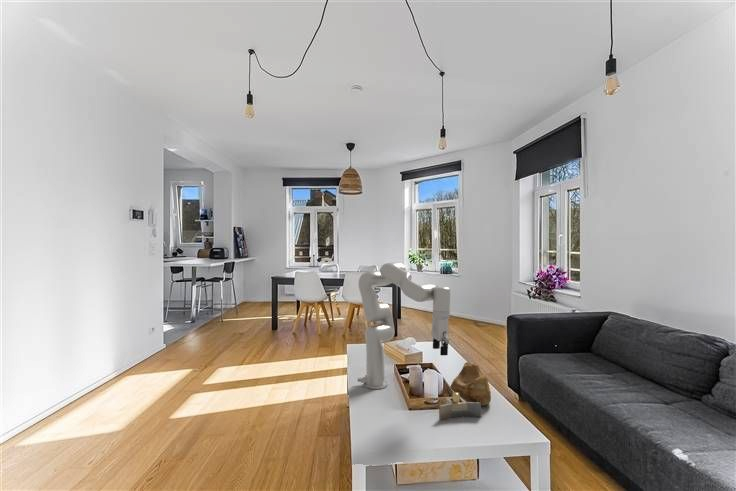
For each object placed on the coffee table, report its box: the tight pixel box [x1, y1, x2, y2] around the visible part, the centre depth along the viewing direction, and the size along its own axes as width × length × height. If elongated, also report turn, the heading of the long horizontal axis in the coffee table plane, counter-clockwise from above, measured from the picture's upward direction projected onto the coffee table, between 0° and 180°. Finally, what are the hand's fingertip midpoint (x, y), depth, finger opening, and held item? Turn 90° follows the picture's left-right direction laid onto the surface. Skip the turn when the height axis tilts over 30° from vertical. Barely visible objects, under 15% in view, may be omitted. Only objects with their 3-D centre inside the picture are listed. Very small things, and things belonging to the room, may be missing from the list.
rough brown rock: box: [449, 361, 492, 407], centre depth 184 cm, size 23×17×15 cm
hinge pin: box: [452, 391, 460, 403], centre depth 167 cm, size 3×3×9 cm
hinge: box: [438, 396, 482, 421], centre depth 166 cm, size 19×8×6 cm, turn 100°
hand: (439, 351), depth 173 cm, fingers open, 9 cm apart
